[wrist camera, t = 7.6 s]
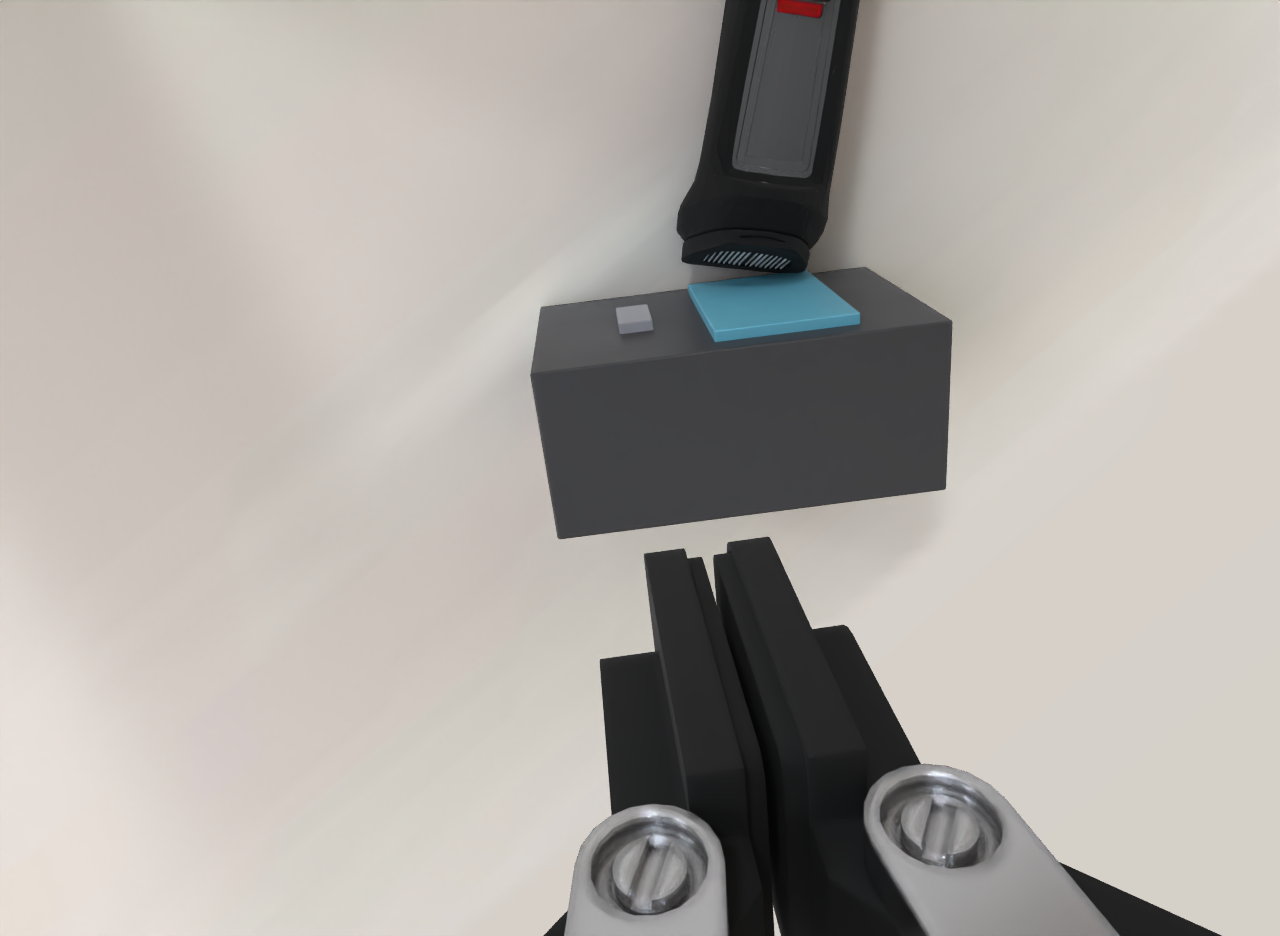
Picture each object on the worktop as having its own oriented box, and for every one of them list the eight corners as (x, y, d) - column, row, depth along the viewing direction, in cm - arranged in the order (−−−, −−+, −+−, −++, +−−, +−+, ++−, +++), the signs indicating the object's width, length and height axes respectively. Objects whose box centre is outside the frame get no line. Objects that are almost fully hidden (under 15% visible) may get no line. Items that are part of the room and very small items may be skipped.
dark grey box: (527, 362, 18) (954, 308, 18) (538, 297, 24) (866, 256, 24) (558, 540, 20) (946, 490, 20) (561, 441, 25) (866, 403, 25)
